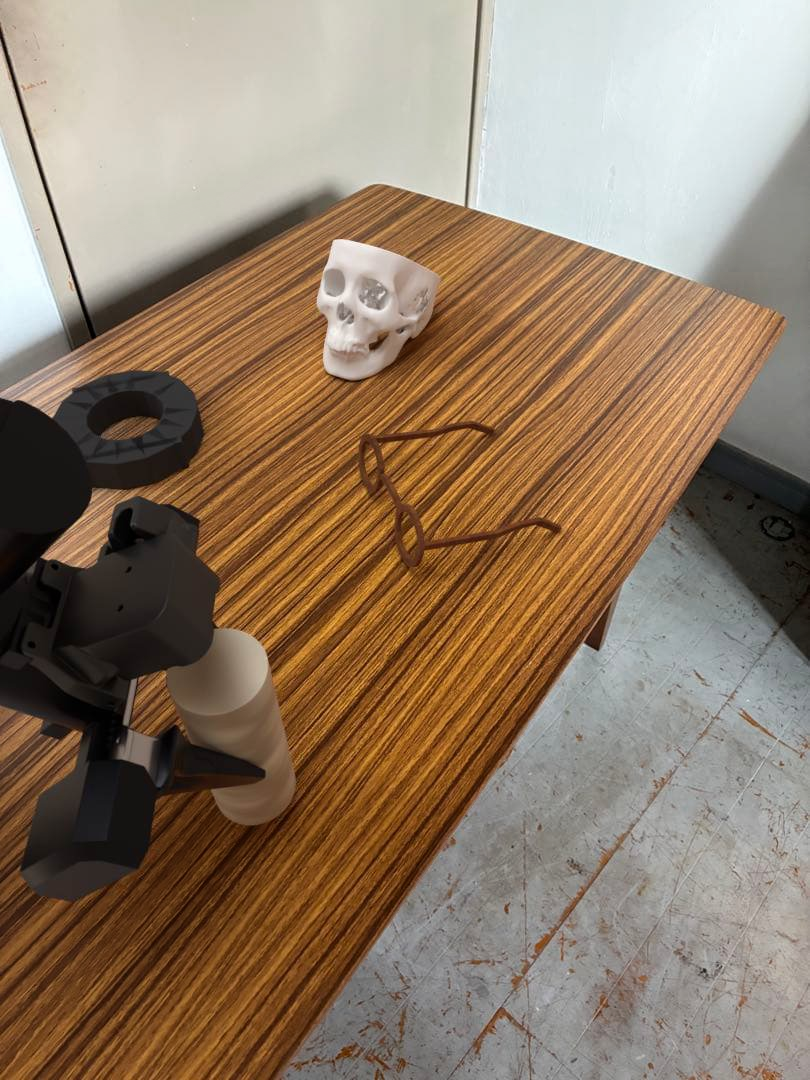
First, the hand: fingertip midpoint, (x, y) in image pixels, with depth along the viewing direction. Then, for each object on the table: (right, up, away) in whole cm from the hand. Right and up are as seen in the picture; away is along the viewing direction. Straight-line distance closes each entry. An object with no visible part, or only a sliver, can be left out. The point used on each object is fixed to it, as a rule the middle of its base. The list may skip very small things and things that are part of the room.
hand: (264, 732), depth 43 cm
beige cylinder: (-1, -4, +5) cm, 7 cm away
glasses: (+12, +13, +24) cm, 30 cm away
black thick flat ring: (-17, +19, +29) cm, 39 cm away
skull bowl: (+5, +31, +39) cm, 50 cm away
